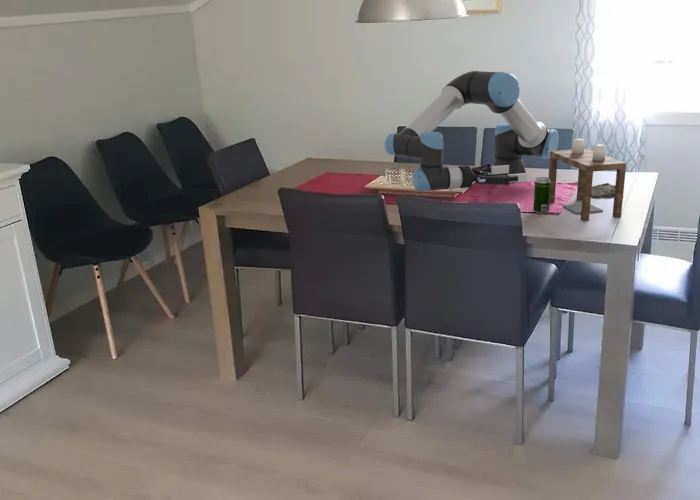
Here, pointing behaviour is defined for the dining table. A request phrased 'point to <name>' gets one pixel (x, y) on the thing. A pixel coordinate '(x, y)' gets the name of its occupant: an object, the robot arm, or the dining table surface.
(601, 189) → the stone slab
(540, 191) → the beer can
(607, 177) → the dining table surface
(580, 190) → the walnut stand
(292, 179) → the dining table surface
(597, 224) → the dining table surface
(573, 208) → the felt pad
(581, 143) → the white short cylinder
